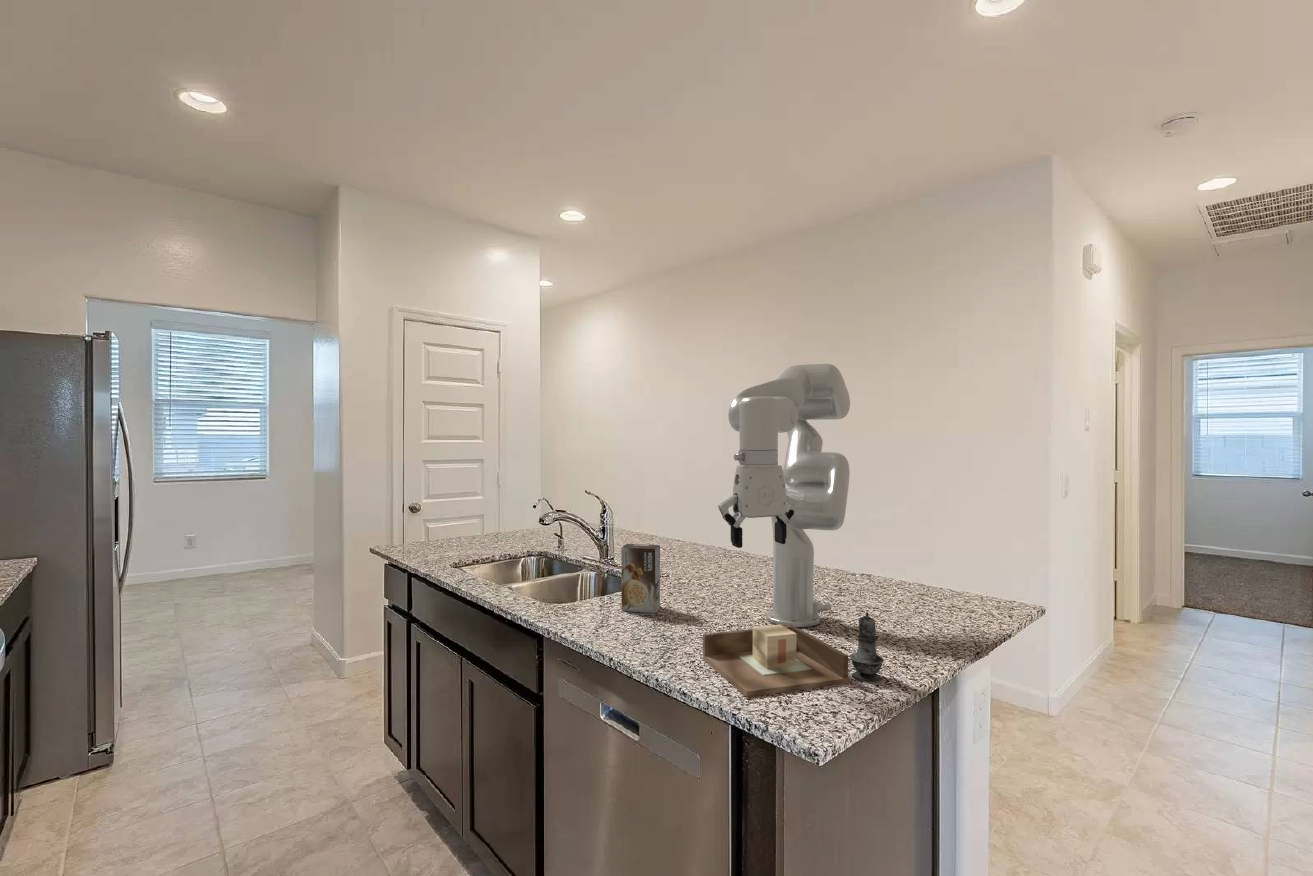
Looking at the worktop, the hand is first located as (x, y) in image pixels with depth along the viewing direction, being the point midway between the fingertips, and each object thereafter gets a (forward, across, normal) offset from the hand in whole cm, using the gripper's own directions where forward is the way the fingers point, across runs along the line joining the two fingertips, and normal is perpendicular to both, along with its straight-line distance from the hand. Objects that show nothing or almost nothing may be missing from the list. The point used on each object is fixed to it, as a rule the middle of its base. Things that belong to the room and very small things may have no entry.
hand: (758, 544), depth 125 cm
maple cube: (+21, -1, -7) cm, 22 cm away
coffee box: (+23, -11, +40) cm, 48 cm away
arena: (+22, -2, -8) cm, 24 cm away
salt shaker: (+22, +13, -17) cm, 31 cm away
